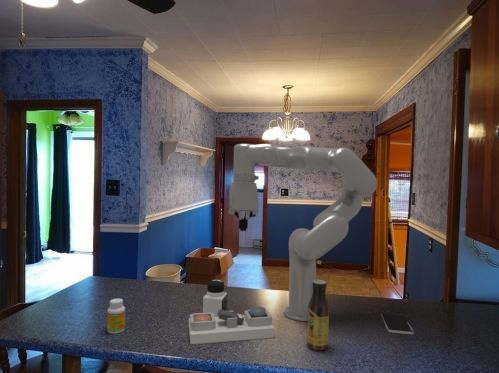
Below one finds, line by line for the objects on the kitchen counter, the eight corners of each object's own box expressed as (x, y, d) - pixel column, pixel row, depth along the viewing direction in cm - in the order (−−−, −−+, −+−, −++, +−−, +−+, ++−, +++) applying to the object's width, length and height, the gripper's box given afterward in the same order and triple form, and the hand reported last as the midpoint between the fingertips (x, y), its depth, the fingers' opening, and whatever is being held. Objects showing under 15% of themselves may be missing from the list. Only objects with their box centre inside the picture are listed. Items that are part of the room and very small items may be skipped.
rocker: (240, 319, 118) (241, 314, 118) (242, 324, 114) (244, 319, 114) (217, 313, 116) (218, 308, 116) (218, 318, 112) (220, 313, 112)
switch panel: (264, 322, 124) (265, 305, 123) (274, 337, 112) (274, 319, 112) (188, 327, 118) (188, 310, 118) (190, 344, 106) (190, 325, 106)
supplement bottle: (108, 335, 112) (108, 304, 111) (106, 328, 116) (106, 299, 116) (126, 332, 114) (126, 302, 114) (123, 325, 119) (123, 296, 118)
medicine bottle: (221, 318, 126) (222, 285, 125) (202, 316, 127) (203, 283, 127) (227, 311, 133) (227, 279, 132) (208, 309, 134) (209, 277, 134)
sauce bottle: (305, 341, 110) (306, 277, 109) (325, 342, 110) (327, 277, 109) (308, 351, 103) (309, 283, 103) (329, 352, 103) (331, 284, 102)
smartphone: (403, 315, 131) (414, 332, 116) (403, 318, 131) (414, 335, 116) (380, 313, 132) (388, 329, 118) (380, 316, 132) (388, 333, 118)
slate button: (263, 313, 120) (263, 306, 120) (267, 319, 115) (267, 311, 115) (248, 314, 119) (248, 306, 119) (252, 320, 114) (252, 312, 114)
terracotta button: (209, 321, 116) (209, 313, 116) (211, 327, 111) (211, 320, 111) (194, 322, 115) (194, 314, 115) (194, 329, 110) (195, 321, 110)
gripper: (261, 179, 132) (260, 228, 132) (221, 178, 128) (220, 229, 129) (267, 179, 124) (266, 231, 125) (224, 178, 121) (223, 232, 122)
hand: (243, 230), depth 127 cm, fingers closed
